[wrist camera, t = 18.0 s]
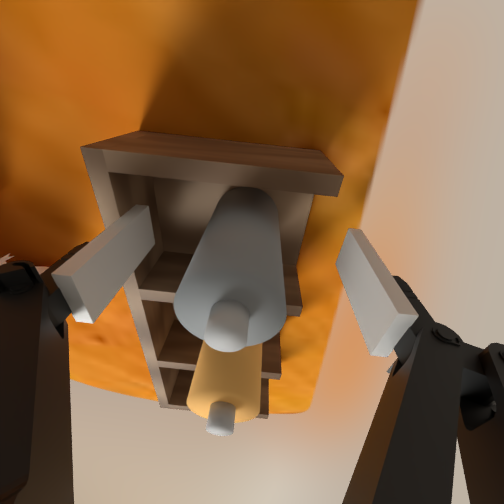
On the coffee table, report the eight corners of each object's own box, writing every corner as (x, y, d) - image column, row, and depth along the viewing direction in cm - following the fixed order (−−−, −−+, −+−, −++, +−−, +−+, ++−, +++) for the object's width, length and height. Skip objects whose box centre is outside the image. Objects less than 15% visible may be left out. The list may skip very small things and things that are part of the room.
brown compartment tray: (138, 130, 15) (80, 146, 10) (320, 150, 15) (344, 175, 10) (177, 359, 30) (160, 407, 26) (267, 368, 30) (267, 418, 26)
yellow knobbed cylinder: (215, 314, 23) (182, 439, 15) (215, 279, 20) (177, 408, 12) (260, 319, 23) (254, 448, 15) (267, 286, 20) (264, 419, 12)
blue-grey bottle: (216, 241, 18) (171, 367, 10) (214, 183, 16) (151, 288, 7) (274, 246, 18) (280, 377, 10) (282, 188, 15) (299, 300, 7)
